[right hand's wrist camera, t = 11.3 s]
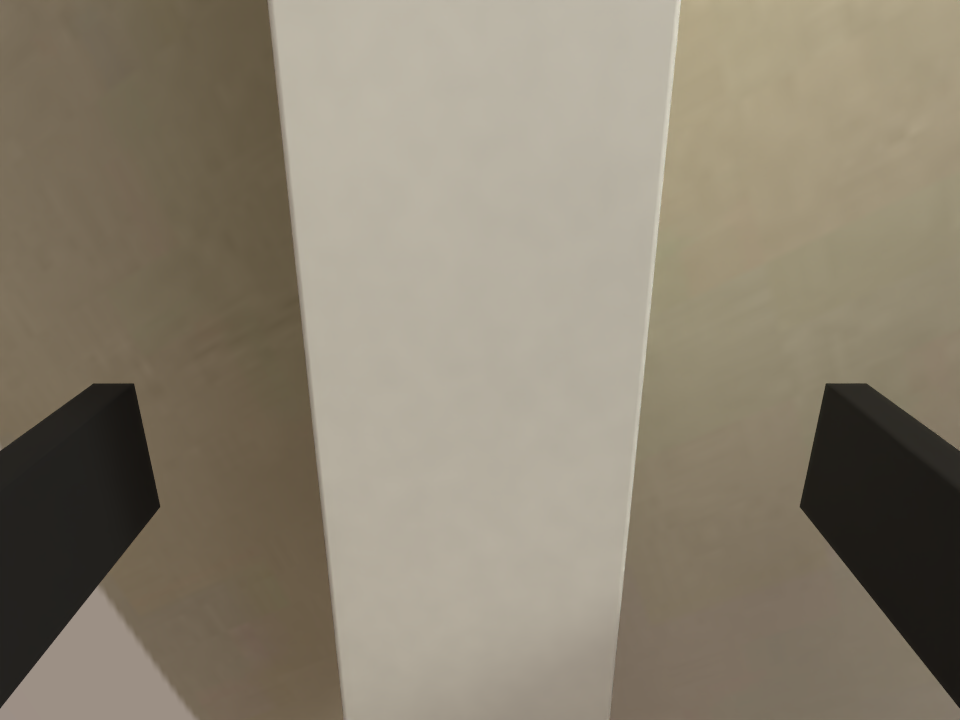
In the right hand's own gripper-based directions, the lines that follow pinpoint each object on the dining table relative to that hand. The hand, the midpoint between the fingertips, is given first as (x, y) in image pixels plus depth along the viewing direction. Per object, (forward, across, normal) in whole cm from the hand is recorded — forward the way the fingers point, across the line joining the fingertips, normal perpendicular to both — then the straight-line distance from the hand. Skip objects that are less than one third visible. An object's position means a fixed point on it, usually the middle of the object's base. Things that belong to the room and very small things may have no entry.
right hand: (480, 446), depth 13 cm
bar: (+5, 0, -23) cm, 23 cm away
